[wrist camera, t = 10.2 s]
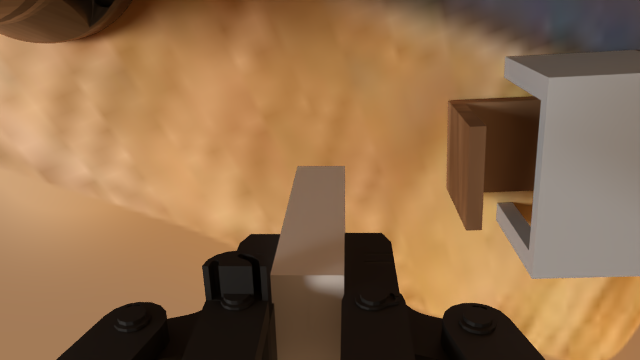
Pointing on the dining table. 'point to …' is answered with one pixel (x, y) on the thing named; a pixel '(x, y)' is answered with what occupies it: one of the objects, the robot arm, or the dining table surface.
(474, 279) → the dining table surface
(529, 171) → the sled
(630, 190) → the tunnel
